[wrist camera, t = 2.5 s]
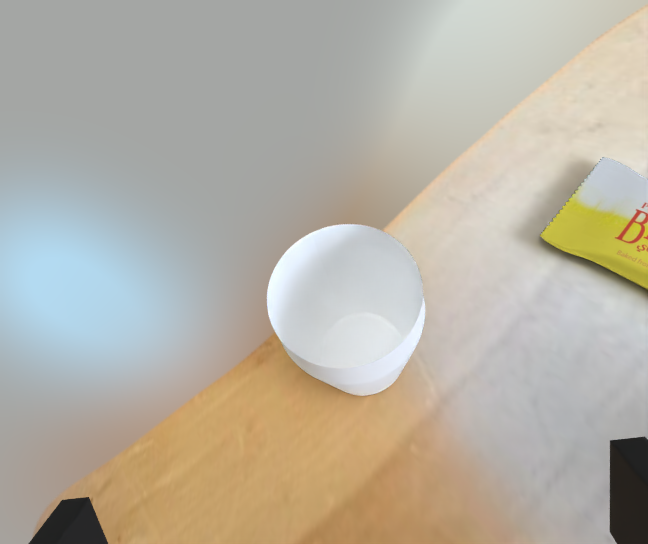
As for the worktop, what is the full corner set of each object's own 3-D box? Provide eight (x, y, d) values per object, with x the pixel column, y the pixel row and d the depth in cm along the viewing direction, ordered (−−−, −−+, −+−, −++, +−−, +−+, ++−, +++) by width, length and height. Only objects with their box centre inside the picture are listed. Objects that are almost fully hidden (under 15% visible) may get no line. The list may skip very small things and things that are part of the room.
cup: (335, 434, 34) (301, 403, 23) (288, 330, 38) (241, 264, 27) (444, 377, 34) (460, 321, 24) (385, 281, 38) (377, 197, 28)
